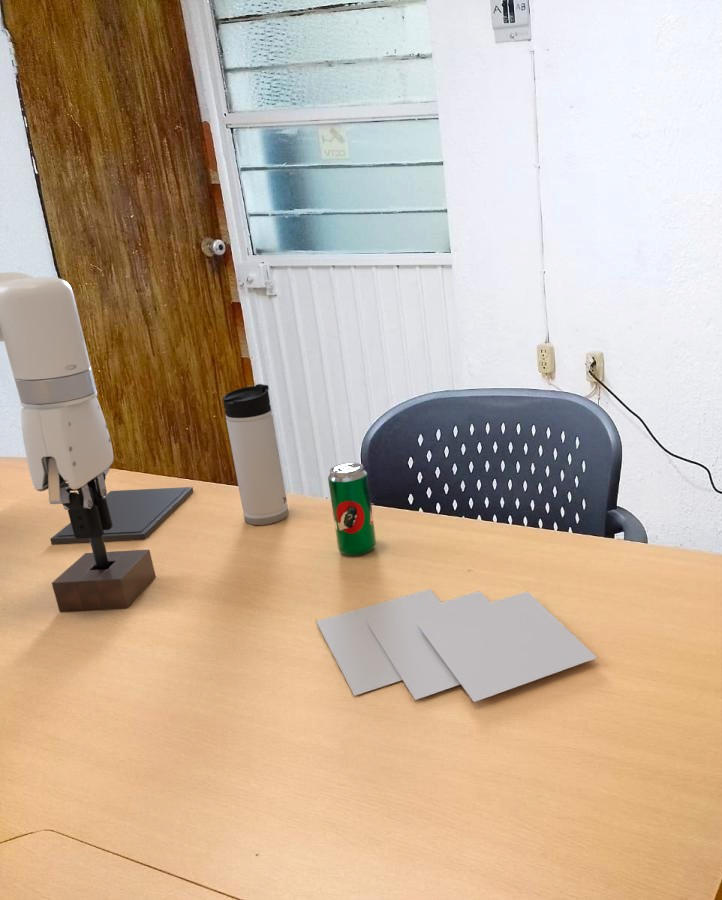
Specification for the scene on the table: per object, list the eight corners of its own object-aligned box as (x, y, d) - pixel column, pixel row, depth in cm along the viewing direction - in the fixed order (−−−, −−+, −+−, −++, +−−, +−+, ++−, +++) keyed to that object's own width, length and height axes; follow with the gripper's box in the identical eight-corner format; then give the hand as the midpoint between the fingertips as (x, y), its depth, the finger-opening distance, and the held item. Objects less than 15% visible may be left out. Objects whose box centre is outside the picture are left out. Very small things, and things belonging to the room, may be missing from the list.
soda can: (383, 548, 114) (373, 467, 110) (350, 561, 111) (338, 478, 107) (365, 537, 118) (354, 458, 114) (332, 549, 114) (320, 468, 110)
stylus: (97, 580, 103) (75, 491, 99) (102, 575, 104) (81, 486, 100) (108, 580, 103) (87, 490, 99) (114, 574, 104) (93, 486, 100)
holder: (59, 612, 100) (51, 582, 99) (92, 580, 108) (85, 552, 106) (127, 608, 101) (120, 579, 99) (155, 576, 108) (149, 549, 107)
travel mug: (299, 512, 127) (279, 386, 120) (263, 529, 121) (240, 397, 115) (272, 505, 130) (251, 381, 123) (235, 520, 124) (211, 392, 118)
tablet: (51, 544, 118) (49, 538, 118) (111, 495, 135) (110, 490, 135) (145, 539, 119) (143, 533, 119) (193, 491, 136) (192, 486, 136)
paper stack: (378, 743, 76) (377, 736, 76) (315, 621, 96) (315, 616, 96) (597, 663, 87) (597, 657, 87) (499, 569, 107) (499, 564, 107)
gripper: (60, 372, 102) (94, 509, 108) (-20, 408, 87) (25, 564, 94) (122, 370, 103) (153, 506, 109) (54, 405, 88) (94, 560, 94)
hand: (94, 532), depth 101 cm, fingers closed on stylus, 1 cm apart
